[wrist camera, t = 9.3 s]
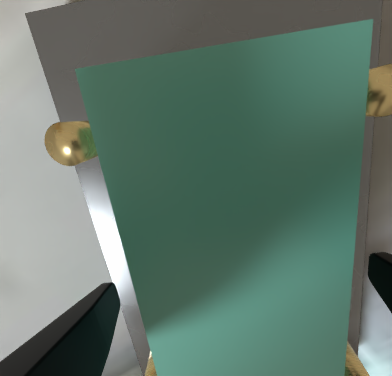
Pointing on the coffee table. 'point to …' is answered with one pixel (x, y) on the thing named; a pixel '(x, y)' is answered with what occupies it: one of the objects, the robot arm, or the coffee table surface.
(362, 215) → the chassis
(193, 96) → the green rectangular block
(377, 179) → the coffee table surface
